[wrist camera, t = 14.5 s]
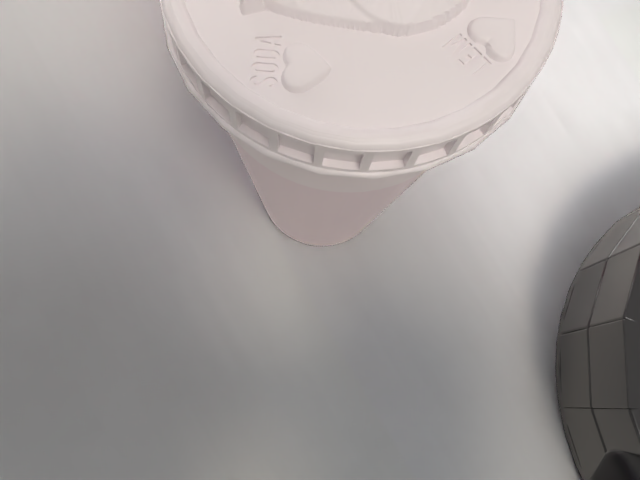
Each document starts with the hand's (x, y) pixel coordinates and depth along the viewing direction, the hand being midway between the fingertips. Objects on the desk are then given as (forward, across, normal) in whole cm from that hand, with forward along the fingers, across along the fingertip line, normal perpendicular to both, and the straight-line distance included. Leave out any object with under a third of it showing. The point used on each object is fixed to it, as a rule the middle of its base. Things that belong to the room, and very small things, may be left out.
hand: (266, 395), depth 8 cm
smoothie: (+11, 0, +2) cm, 11 cm away
